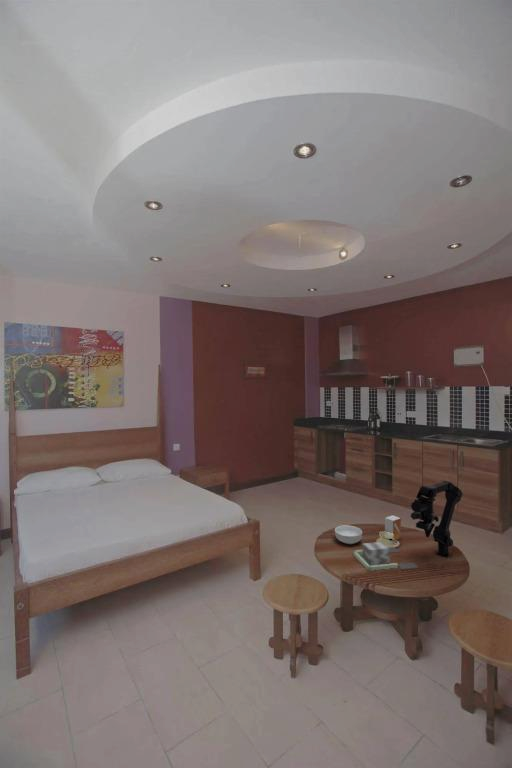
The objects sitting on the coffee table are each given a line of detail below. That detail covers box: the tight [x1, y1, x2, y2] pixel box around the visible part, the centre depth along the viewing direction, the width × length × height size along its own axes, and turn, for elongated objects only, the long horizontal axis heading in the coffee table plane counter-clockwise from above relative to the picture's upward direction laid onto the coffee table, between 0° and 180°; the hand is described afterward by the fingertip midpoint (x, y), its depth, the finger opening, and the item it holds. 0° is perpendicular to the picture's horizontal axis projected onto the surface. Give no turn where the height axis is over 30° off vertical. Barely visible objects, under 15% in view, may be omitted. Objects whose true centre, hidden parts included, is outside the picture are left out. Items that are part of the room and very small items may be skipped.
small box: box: [384, 514, 402, 541], centre depth 228 cm, size 8×6×13 cm
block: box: [362, 541, 391, 566], centre depth 200 cm, size 12×8×8 cm, turn 100°
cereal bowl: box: [334, 524, 363, 545], centre depth 224 cm, size 17×17×7 cm
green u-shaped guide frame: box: [352, 547, 420, 572], centre depth 200 cm, size 28×23×2 cm
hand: (427, 536), depth 200 cm, fingers closed
